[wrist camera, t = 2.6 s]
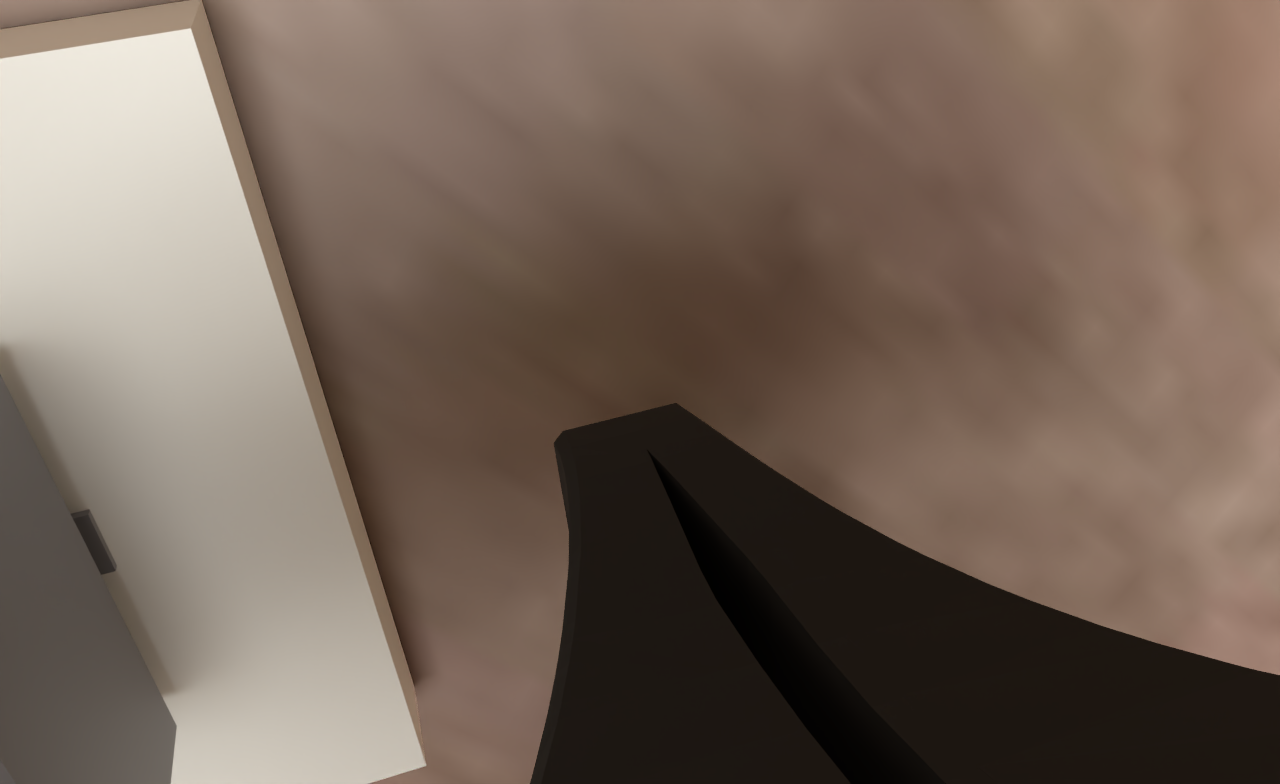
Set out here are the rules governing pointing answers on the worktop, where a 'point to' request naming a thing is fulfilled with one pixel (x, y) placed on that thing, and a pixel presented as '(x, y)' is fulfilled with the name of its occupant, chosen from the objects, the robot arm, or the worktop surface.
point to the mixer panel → (189, 404)
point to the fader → (65, 644)
